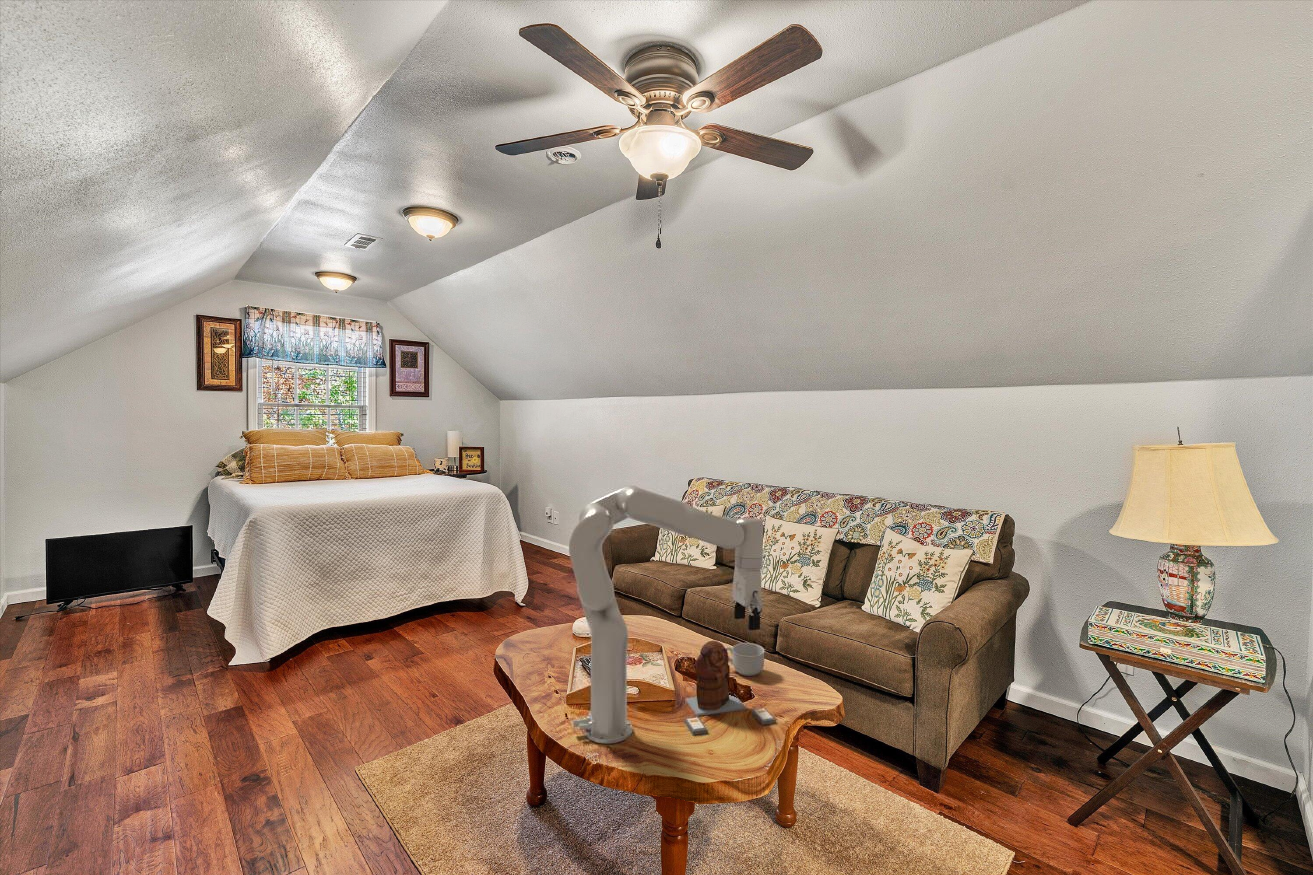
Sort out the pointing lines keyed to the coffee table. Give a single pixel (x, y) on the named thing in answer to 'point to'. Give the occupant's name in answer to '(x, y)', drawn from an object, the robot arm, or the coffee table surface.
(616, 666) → the robot arm
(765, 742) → the coffee table surface
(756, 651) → the teacup
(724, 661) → the wooden figurine
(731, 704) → the mat
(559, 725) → the coffee table surface
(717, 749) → the coffee table surface
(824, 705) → the coffee table surface
